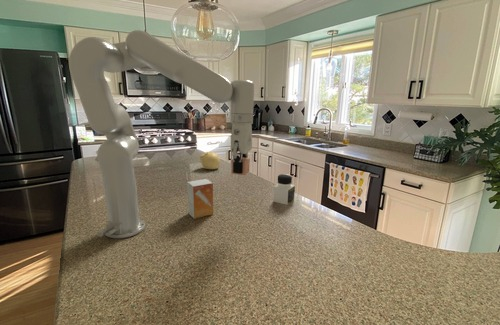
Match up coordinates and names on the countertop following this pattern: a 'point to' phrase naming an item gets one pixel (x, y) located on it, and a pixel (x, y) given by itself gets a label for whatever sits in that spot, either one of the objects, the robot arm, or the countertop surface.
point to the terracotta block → (245, 166)
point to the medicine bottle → (284, 190)
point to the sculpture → (210, 160)
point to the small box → (200, 198)
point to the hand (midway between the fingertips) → (240, 170)
